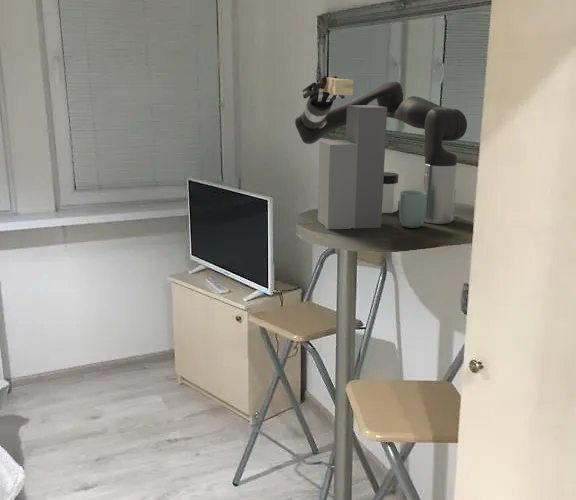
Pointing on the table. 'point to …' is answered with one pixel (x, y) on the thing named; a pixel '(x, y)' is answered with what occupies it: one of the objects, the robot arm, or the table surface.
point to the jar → (390, 192)
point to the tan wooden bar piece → (339, 86)
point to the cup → (412, 208)
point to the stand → (353, 171)
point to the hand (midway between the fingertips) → (330, 78)
